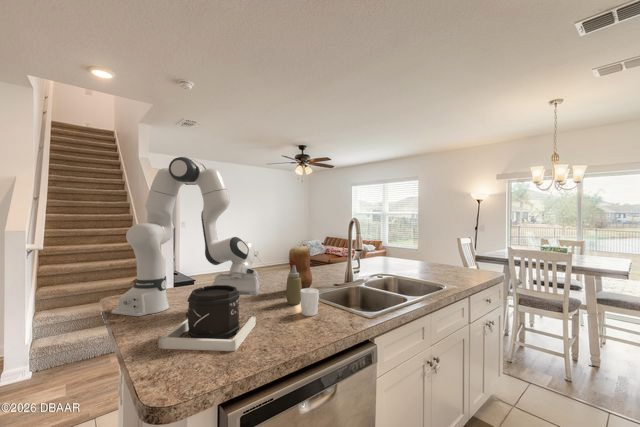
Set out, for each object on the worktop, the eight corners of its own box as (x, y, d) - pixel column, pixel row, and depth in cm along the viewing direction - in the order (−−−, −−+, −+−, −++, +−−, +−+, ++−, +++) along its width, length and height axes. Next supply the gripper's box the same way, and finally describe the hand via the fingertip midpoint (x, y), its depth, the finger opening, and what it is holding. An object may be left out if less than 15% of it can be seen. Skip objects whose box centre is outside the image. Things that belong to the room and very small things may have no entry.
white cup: (321, 312, 131) (321, 289, 131) (313, 317, 124) (313, 293, 124) (305, 309, 134) (305, 287, 134) (297, 315, 127) (297, 291, 127)
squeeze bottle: (305, 303, 144) (306, 265, 144) (293, 306, 138) (293, 267, 138) (294, 299, 149) (294, 263, 149) (281, 303, 143) (282, 265, 143)
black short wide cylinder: (189, 327, 113) (189, 285, 113) (238, 322, 118) (238, 282, 118) (181, 348, 96) (181, 299, 96) (239, 341, 101) (239, 295, 101)
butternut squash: (282, 291, 165) (282, 245, 165) (301, 287, 174) (301, 244, 174) (298, 296, 155) (299, 248, 155) (317, 291, 164) (317, 246, 164)
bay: (158, 348, 96) (158, 339, 96) (193, 322, 118) (193, 314, 118) (235, 351, 94) (235, 341, 94) (255, 324, 116) (255, 316, 116)
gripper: (214, 270, 133) (204, 298, 123) (259, 270, 131) (252, 299, 121) (218, 277, 137) (208, 306, 127) (262, 278, 135) (256, 307, 126)
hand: (230, 303), depth 124 cm, fingers closed
